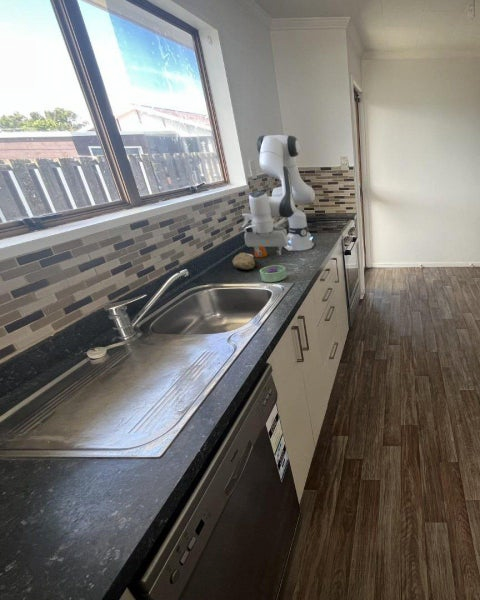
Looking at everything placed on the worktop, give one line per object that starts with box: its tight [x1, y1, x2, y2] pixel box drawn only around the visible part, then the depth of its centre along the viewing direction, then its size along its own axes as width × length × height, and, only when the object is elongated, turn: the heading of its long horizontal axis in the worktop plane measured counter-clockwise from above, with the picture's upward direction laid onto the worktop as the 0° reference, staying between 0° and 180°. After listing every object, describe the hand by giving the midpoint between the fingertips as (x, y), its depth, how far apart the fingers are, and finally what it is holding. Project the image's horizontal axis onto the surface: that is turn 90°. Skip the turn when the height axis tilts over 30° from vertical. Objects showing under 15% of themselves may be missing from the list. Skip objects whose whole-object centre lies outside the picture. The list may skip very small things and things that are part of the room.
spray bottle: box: [241, 213, 268, 259], centre depth 196 cm, size 7×11×26 cm, turn 123°
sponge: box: [231, 252, 256, 271], centre depth 183 cm, size 13×8×20 cm
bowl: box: [259, 264, 287, 283], centre depth 167 cm, size 12×12×5 cm
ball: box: [268, 268, 278, 273], centre depth 166 cm, size 5×5×5 cm
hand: (269, 254), depth 163 cm, fingers open, 8 cm apart
